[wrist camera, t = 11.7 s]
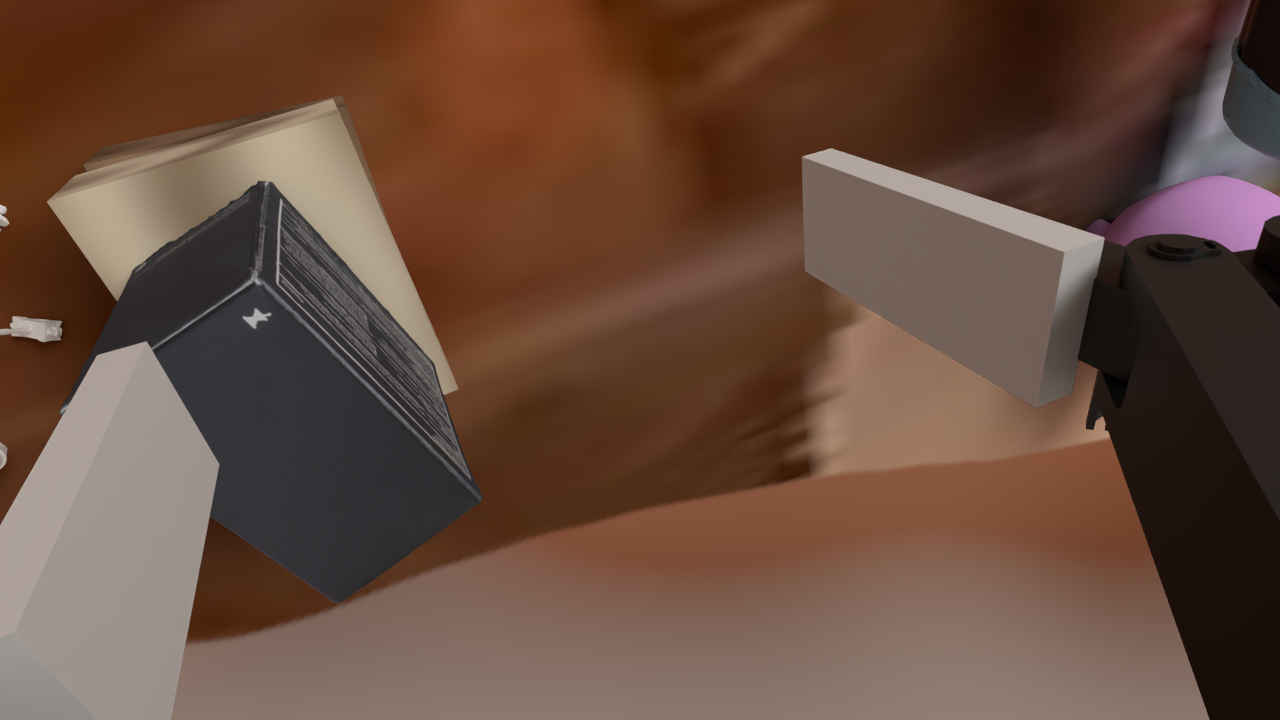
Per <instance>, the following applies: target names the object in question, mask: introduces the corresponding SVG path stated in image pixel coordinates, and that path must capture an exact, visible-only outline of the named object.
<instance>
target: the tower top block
mask: <svg viewBox="0 0 1280 720" xmlns="http://www.w3.org/2000/svg"><path fill="white" fill-rule="evenodd" d="M258 181H269V182H273V183H274V185H275V186H276V187H277V189H278V190H279V191H280V192H281V193H282V194H283V195H284V196H285V197H286V199H287V200H288V201H289V202H290V203H291V204H292V205H293V206H294V207H295V208H296V209H297V210H298V212H299V213H300V214H301V215H302V216H303V217H304V218H305V219H306V220H307V221H308V222H309V223H310V224H311V226H312V227H313V228H314V229H315V230H316V231H317V232H318V233H319V234H320V235H321V237H322V238H323V239H324V240H325V241H326V242H327V243H328V245H329V246H330V247H331V248H332V249H333V250H334V251H335V252H336V253H337V255H338V256H339V257H340V258H341V259H342V260H343V261H344V262H345V263H347V265H348V267H349V268H350V269H351V270H352V272H353V273H354V274H355V275H356V276H357V277H358V278H359V280H360V281H361V282H362V283H363V284H364V285H365V286H366V287H367V289H368V290H369V291H370V292H371V293H372V294H373V295H374V296H375V297H376V298H377V300H378V301H379V302H380V303H381V304H382V305H383V307H385V308H386V309H387V310H388V311H389V312H390V314H391V315H392V316H393V317H394V319H395V320H396V321H397V322H398V323H399V324H400V325H401V327H402V328H403V329H404V330H405V331H406V332H407V333H408V334H409V336H410V337H411V338H412V339H413V340H414V341H415V342H416V343H417V344H418V346H419V347H420V348H421V349H422V350H423V351H424V353H425V354H426V355H427V356H428V357H429V358H430V359H431V360H432V361H433V363H434V364H435V367H436V372H437V375H438V379H439V382H440V385H441V389H442V392H443V395H445V394H448V393H450V392H453V391H455V390H458V386H457V384H456V381H455V379H454V377H453V374H452V372H451V369H450V367H449V365H448V362H447V360H446V357H445V355H444V353H443V350H442V348H441V346H440V343H439V341H438V339H437V337H436V334H435V332H434V330H433V327H432V325H431V323H430V320H429V318H428V316H427V314H426V311H425V309H424V307H423V304H422V302H421V300H420V297H419V295H418V293H417V291H416V288H415V286H414V284H413V281H412V279H411V277H410V275H409V272H408V270H407V268H406V265H405V263H404V261H403V258H402V256H401V254H400V252H399V249H398V247H397V245H396V242H395V240H394V238H393V235H392V233H391V231H390V229H389V226H388V224H387V222H386V219H385V217H384V215H383V212H382V210H381V208H380V206H379V203H378V201H377V199H376V196H375V194H374V192H373V189H372V187H371V185H370V183H369V180H368V178H367V176H366V173H365V171H364V169H363V167H362V164H361V162H360V160H359V157H358V155H357V153H356V150H355V148H354V146H353V144H352V141H351V139H350V137H349V134H348V132H347V130H346V127H345V125H344V123H343V121H342V118H341V116H340V114H339V111H338V109H337V107H336V104H335V102H334V100H333V99H330V100H327V101H324V102H320V103H317V104H314V105H310V106H307V107H304V108H300V109H297V110H293V111H290V112H287V113H283V114H280V115H277V116H273V117H270V118H267V119H263V120H260V121H257V122H253V123H250V124H247V125H243V126H240V127H236V128H233V129H230V130H226V131H223V132H220V133H216V134H213V135H210V136H206V137H203V138H200V139H196V140H193V141H190V142H186V143H183V144H180V145H176V146H173V147H169V148H166V149H163V150H159V151H156V152H153V153H149V154H146V155H143V156H139V157H136V158H133V159H129V160H126V161H123V162H119V163H116V164H112V165H109V166H106V167H102V168H99V169H96V170H92V171H89V172H86V173H82V174H79V175H76V176H74V177H73V178H72V179H71V180H70V181H69V182H68V183H67V184H66V185H64V186H63V187H62V188H61V189H60V190H59V191H58V192H57V193H56V194H55V195H54V196H52V197H51V198H50V199H49V200H48V201H47V203H48V204H49V205H50V207H51V208H52V210H53V211H54V213H55V214H56V215H57V217H58V218H59V220H60V221H61V222H62V224H63V225H64V227H65V228H66V230H67V231H68V232H69V234H70V235H71V237H72V238H73V240H74V241H75V242H76V244H77V245H78V247H79V248H80V249H81V251H82V252H83V254H84V255H85V257H86V258H87V259H88V261H89V262H90V264H91V265H92V267H93V268H94V269H95V271H96V272H97V274H98V275H99V276H100V278H101V279H102V281H103V282H104V284H105V285H106V286H107V288H108V289H109V291H110V292H111V294H112V295H113V296H114V298H115V299H116V301H118V300H119V298H120V296H121V294H122V292H123V290H124V288H125V285H126V283H127V281H128V279H129V278H130V276H131V273H132V270H133V269H134V268H135V267H137V266H138V265H140V264H141V263H143V262H144V261H145V260H146V259H147V258H148V257H150V256H151V255H152V254H153V253H154V252H156V251H157V250H158V249H159V248H160V247H162V246H164V245H165V244H166V243H167V242H170V241H175V240H177V239H178V238H179V237H180V236H182V235H184V234H185V233H186V232H188V230H189V229H191V228H194V227H196V226H198V225H199V224H200V223H201V222H204V221H205V220H207V219H208V217H209V216H213V215H215V214H216V212H218V211H219V210H220V209H222V208H224V207H226V206H227V205H228V204H229V202H230V201H232V200H236V199H238V198H240V197H241V196H242V195H243V194H244V192H245V191H246V190H248V188H250V187H251V186H253V185H256V184H257V182H258Z"/></svg>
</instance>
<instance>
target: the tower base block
mask: <svg viewBox="0 0 1280 720" xmlns="http://www.w3.org/2000/svg"><path fill="white" fill-rule="evenodd" d="M330 99H333V100H334V102H335V104H336V107H337V109H338V111H339V114H340V116H341V118H342V121H343V123H344V125H345V127H346V130H347V132H348V134H349V137H350V139H351V141H352V144H353V146H354V148H355V150H356V153H357V155H358V157H359V160H360V162H361V164H362V167H363V169H364V171H365V173H366V176H367V178H368V180H369V183H370V185H371V187H372V189H373V192H374V194H375V196H376V199H377V201H378V203H379V206H380V208H381V210H382V212H383V215H384V217H385V219H386V222H387V224H388V221H387V218H386V216H385V213H384V210H383V207H382V204H381V201H380V199H379V196H378V193H377V190H376V187H375V184H374V181H373V179H372V176H371V173H370V170H369V167H368V164H367V162H366V159H365V156H364V153H363V150H362V147H361V144H360V142H359V139H358V136H357V133H356V130H355V127H354V125H353V122H352V119H351V116H350V113H349V110H348V107H347V105H346V103H345V100H344V98H343V96H342V95H341V96H336V97H332V98H327V99H323V100H318V101H314V102H309V103H304V104H300V105H295V106H291V107H286V108H282V109H277V110H273V111H268V112H263V113H259V114H254V115H250V116H245V117H241V118H236V119H232V120H227V121H222V122H218V123H213V124H209V125H204V126H200V127H195V128H191V129H186V130H181V131H177V132H172V133H168V134H163V135H159V136H154V137H150V138H145V139H140V140H136V141H131V142H127V143H122V144H118V145H113V146H109V147H104V148H102V149H100V150H99V151H98V152H97V153H96V154H95V155H94V156H93V157H91V158H90V159H89V160H88V161H87V162H86V163H85V164H84V165H83V166H84V167H85V169H86V171H87V172H89V171H92V170H96V169H99V168H102V167H106V166H109V165H112V164H116V163H119V162H123V161H126V160H129V159H133V158H136V157H139V156H143V155H146V154H149V153H153V152H156V151H159V150H163V149H166V148H169V147H173V146H176V145H180V144H183V143H186V142H190V141H193V140H196V139H200V138H203V137H206V136H210V135H213V134H216V133H220V132H223V131H226V130H230V129H233V128H236V127H240V126H243V125H247V124H250V123H253V122H257V121H260V120H263V119H267V118H270V117H273V116H277V115H280V114H283V113H287V112H290V111H293V110H297V109H300V108H304V107H307V106H310V105H314V104H317V103H320V102H324V101H327V100H330ZM388 226H389V224H388ZM389 229H390V227H389ZM390 231H391V230H390Z"/></svg>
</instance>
